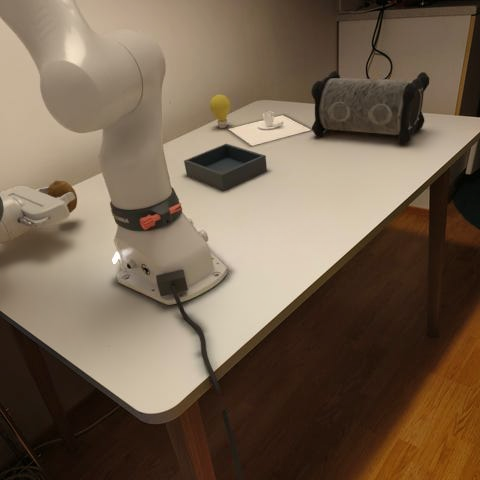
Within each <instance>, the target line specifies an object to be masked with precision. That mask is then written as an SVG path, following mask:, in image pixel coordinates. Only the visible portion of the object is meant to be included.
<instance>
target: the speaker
mask: <svg viewBox="0 0 480 480" xmlns="http://www.w3.org/2000/svg"><path fill="white" fill-rule="evenodd" d="M429 85H430V77H429V75H428V74H427V73H426V72H424V71H421V72H420V73H419V74H418V75H417V77H416V78H415V79H387V78H384V79H382V78H349V77H348V78H343V77H342V78H341V76H340V74H339V71H338V70H333V71H332V72H330V73H329V74H328V76H326V77H324V78H323V79H322V80H317V81H316V82H314V84H313V85H312V87H311V93H310V94H311V96H312V98H313V100H314V122H313V124H312V126H311V131H312V132H313V134H314V135H315V137H317V138H320V137H322V136H323V135H324V133H325V131H327V130H334V131H340V132H342V131H344V132H345V131H346V132H356V133H358V132H359V133H367V134H368V133H370V134H381V135H393V136H397V139H398V141H399V145H405V144H408V143H409V142H410V141H411V140H412V138H411V137H412V136H413V134H414V133H415V132H418V131H420V130H421V129H422V128H423V126H424V124H425V117H424V114H423V112H422V109H423V103H424V92H425V91H426V89H427V88H428V87H429Z"/></svg>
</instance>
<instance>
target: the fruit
mask: <svg viewBox="0 0 480 480" xmlns="http://www.w3.org/2000/svg"><path fill="white" fill-rule="evenodd" d="M67 191H70V192H73V193H74V196H75V199H74V200H72V201H70V202H69V203H68V204H67V207H68V210H69V212H70V214H71V213H72V212H74V210H76V209H77V205H78V195H77V192H76V190H75V189H74V188H73V186H72V185H71V184H70V183H69V182H67V181H66V180H54V182H52V183H50V184H49V188H48V195H49V196H52V197H55V198H57V197H61V196H63V193H65V192H67Z"/></svg>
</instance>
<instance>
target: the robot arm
mask: <svg viewBox="0 0 480 480" xmlns="http://www.w3.org/2000/svg"><path fill="white" fill-rule="evenodd" d="M0 19H1V20H2V22H4V24H6V26H7V27H8V28H9V29H10V30H11V31H12V32H13V33H14V35H15V36H16V37H17V38H18V39H19V40H20V42H21V43H22V45H23V46H24V47H25V49H26V50H27V52H28V54H29V55H30V57H31V58H32V61H33V62H34V64H35V66H36V68H37V71H38V74H39V78H40V79H39V89H40V94H41V98H42V102H43V103H44V106H45V107H46V109H47V111H48V113H49V114H50V116H51V117H52V118H53V120H55V121H56V123H58V124H59V125H60V126H62V128H64V129H66V130H68V131H70V132H73V133H77V134H88V133H93V132H97V131H101V130H102V137H101V138H102V139H101V145H100V148H99V153H98V164H99V168H100V170H101V174H102V177H103V180H104V183H105V186H106V189H107V193H108V195H109V199H110V201H109V206H110V211H111V215H112V217H113V219H114V222H115V224H116V225H117V226H116V227H117V228H116V233H115V235H114V238H113V243H114V247H115V250H116V252H115V254H114V256H113V258H112V263H113V264H116V263H117V262H119V266H120V269H121V270H120V271H119V272H118V274H117V276H116V278H117V282H118V283H119V284H121V285H123V286H125V287H127V288H129V289H132V290H133V291H136V292H137V293H138V292H139V293H140V294H142V295H145V296H147V297H149V298H151V299H153V300H155V301H157V302H159V303H162V304H164V305H166V306H172V305H177V307H178V310H179V312H180V314H181V316H182V317H183V319H184V320H185V322H187V324H189V326H191V327H192V328H194V329H195V330H196V332H197V333H198V335H199V339H200V351H201V356H202V359H203V362H204V365H205V367H206V371H207V372H208V374H209V377H210V380H211V382H212V385H213V389H214V391H215V394H216V395H220V394H222V391H221V387H220V384H219V381H218V379H217V376H216V374H215V371H214V369H213V367H212V364H211V362H210V360H209V359H210V358H209V356H208V352H207V341H206V336H205V333H204V331H203V329H202V328H201V326H200V325H198V323H196V322H195V321H194V320H193V319H192V318H190V317H189V315H188V313H187V312H186V310H185V308H184V306H183V304H182V303H184V302H186V301H187V302H188V301H189V300H192V299H194V298H197V297H198V296H200V295H202V294H204V293H206V292H208V291H209V290H211V289H212V288H214V287H216V286H217V285H218V284H219V283H221V281H223V280H224V278H225V277H226V276H227V274H228V268H227V266H226V265H225V264H224V263H223V262H222V261H221V260H220V259H219V258H218V257H217V256H216V255H215V254H214V253H213V252H211V249H210V247H209V245H208V241H209V236H208V233H207V231H206V230H205V229H202V230H199V231H198V230H197V228H196V227H195V226H194V220H193V219H192V218H188V217H187V216H186V214H184V212H183V207H182V203H181V202H180V199H179V196H178V195H177V192H176V190H175V189H174V188H173V186H172V184H171V179H170V175H169V169H168V165H167V160H166V155H165V148H164V143H163V141H164V140H163V120H162V119H163V114H162V109H163V107H162V102H163V101H162V94H163V93H162V91H163V83H164V79H165V77H166V69H167V68H166V67H167V65H166V58H165V56H164V52H163V50H162V48H161V46H160V45H159V43H158V41H156V39H155V38H154V37H152V36H151V35H150V34H149V33H147V32H145V31H143V30H139V29H133V28H115V29H113V30H110V31H107V32H105V33H103V34H98V33H97V32H96V31H94V30H93V29H92V27H91V26H90V25H89V23H88V22H87V20H86V19H85V17H84V15H83V14H82V12H81V10H80V8H79V6H78V4H77V1H76V0H0ZM49 186H50V185H49ZM49 186H46V187H39V188H36V189H34V188H31V187H29V186H26V185H17V186H14V187H10V188H8V189H5V190H2V191H0V244H4V243H7V242H11V240H14V239H16V238H18V237H20V236H22V235H25V234H26V233H28V232H29V229H30V228H32V227H34V228H37V229H45V228H48V227H51V226H53V225H55V224H57V223H60V222H63V221H65V220H67V219H68V218H70V216H71V213H70V212H69V210H68V207H67V204H68V203H69V202H70V201H72V200H74V199H75V196H74V193H73V192H70V191H67V192H65V193H63V196H61V197H57V198H55V197H52V196H49V195H48V188H49ZM221 416H222V419H223V422H224V427H225V430H226V434H227V438H228V442H229V446H230V450H231V454H232V459H233V462H234V467H235V471H236V475H237V479H238V480H244V477H243V473H242V468H241V464H240V460H239V456H238V451H237V447H236V444H235V439H234V435H233V431H232V427H231V423H230V420H229V415H228V411H227V408H224V409H223V410H222V411H221Z"/></svg>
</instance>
